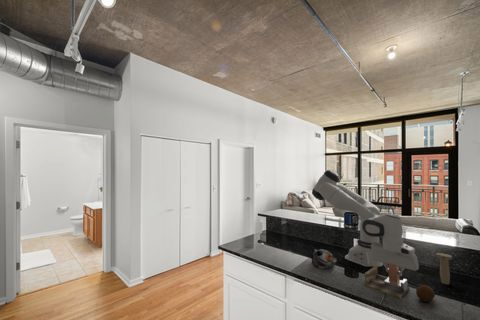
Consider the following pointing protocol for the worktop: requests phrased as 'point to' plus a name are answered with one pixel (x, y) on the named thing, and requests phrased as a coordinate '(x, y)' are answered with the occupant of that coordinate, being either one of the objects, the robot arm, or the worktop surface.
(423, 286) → the potato
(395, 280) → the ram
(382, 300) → the worktop surface
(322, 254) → the lucky cat figurine
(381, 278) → the frame
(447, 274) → the handle
